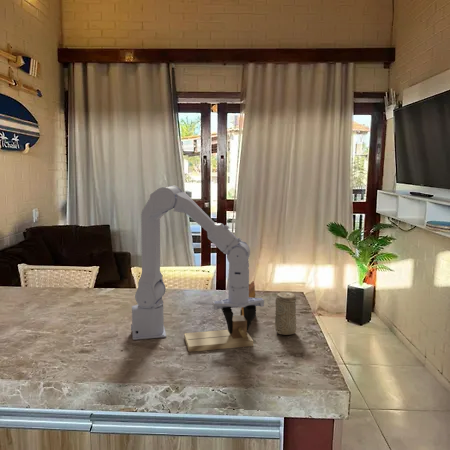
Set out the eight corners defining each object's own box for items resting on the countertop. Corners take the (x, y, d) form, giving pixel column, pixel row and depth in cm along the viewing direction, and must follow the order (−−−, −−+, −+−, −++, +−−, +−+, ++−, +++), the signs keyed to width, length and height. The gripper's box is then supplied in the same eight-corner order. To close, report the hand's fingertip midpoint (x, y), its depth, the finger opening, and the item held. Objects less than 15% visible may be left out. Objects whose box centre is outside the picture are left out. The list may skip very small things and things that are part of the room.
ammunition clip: (245, 327, 131) (246, 289, 129) (239, 326, 131) (240, 288, 130) (255, 315, 141) (256, 280, 139) (250, 314, 141) (251, 279, 140)
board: (188, 351, 113) (188, 346, 113) (184, 338, 122) (184, 333, 122) (253, 345, 117) (253, 340, 117) (244, 333, 126) (244, 328, 126)
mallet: (237, 346, 113) (237, 328, 113) (229, 332, 122) (229, 316, 121) (251, 345, 114) (252, 327, 114) (242, 331, 123) (243, 315, 122)
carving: (291, 327, 130) (292, 290, 129) (299, 337, 123) (301, 298, 121) (271, 328, 129) (272, 291, 128) (278, 338, 122) (279, 298, 120)
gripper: (216, 291, 113) (216, 339, 115) (267, 288, 116) (266, 334, 118) (211, 283, 120) (210, 329, 122) (260, 281, 123) (259, 325, 125)
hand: (238, 331), depth 121 cm, fingers closed on mallet, 4 cm apart
